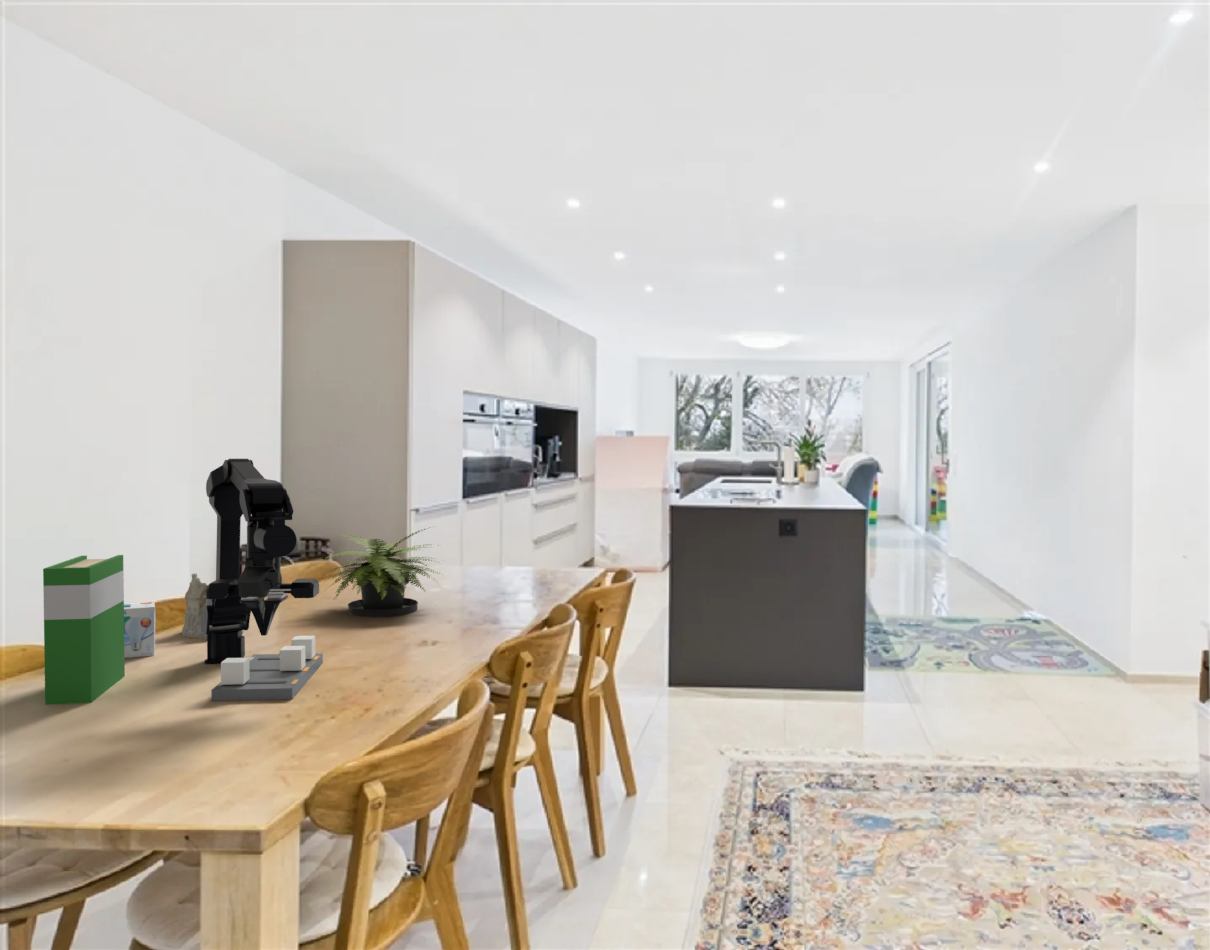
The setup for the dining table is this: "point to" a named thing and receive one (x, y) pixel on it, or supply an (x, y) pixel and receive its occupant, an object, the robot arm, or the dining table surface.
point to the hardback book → (83, 628)
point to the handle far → (307, 642)
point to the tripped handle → (235, 671)
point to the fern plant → (382, 579)
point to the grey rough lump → (195, 608)
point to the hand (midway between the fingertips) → (264, 635)
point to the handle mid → (292, 658)
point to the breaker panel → (268, 680)
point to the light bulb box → (139, 629)
